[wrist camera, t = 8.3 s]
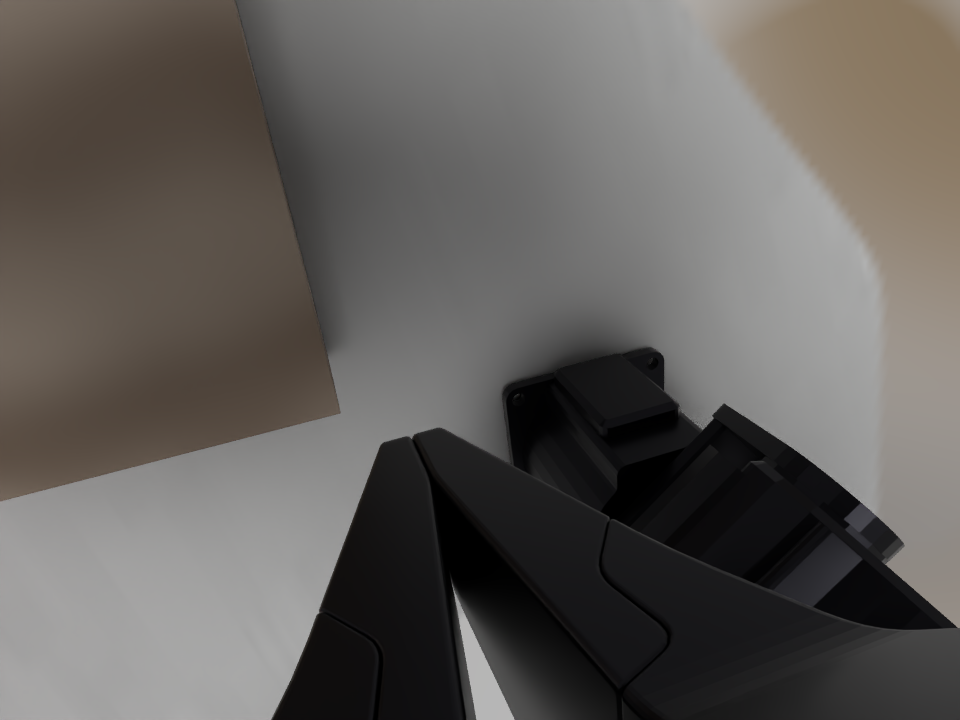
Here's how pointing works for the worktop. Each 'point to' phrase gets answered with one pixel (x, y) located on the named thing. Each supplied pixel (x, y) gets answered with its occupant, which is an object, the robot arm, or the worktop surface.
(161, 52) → the deck
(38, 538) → the worktop surface
